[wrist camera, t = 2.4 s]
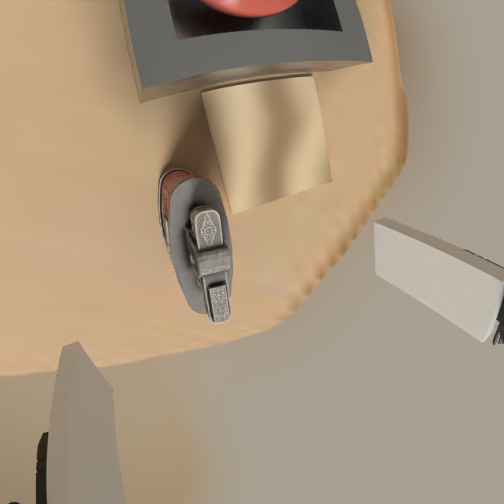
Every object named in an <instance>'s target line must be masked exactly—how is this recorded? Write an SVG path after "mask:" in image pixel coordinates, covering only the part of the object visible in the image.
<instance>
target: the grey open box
mask: <svg viewBox="0 0 504 504" xmlns="http://www.w3.org/2000/svg"><path fill="white" fill-rule="evenodd" d="M119 4H120V10H121V16H122V21H123V27H124V32H125V37H126V42H127V47H128V52H129V57H130V62H131V66H132V71H133V75H134V79H135V84H136V88H137V92H138V96H139V100H140V103H143V102H147V101H150V100H153V99H157V98H160V97H163V96H167V95H171V94H174V93H178V92H182V91H186V90H190V89H195V88H199V87H203V86H208V85H213V84H218V83H223V82H228V81H234V80H240V79H246V78H253V77H260V76H268V75H277V74H286V73H298V72H313V71H332V70H336V69H341V68H345V67H350V66H355V65H360V64H365V63H371V62H373V61H372V56H371V52H370V48H369V44H368V40H367V37H366V33H365V29H364V26H363V22H362V19H361V16H360V12H359V9H358V6H357V3H356V0H298V1H297V2H296V3H295V4H293V5H292V6H290V7H289V8H287V9H286V10H284V11H283V12H281V13H279V14H276V15H273V16H270V17H265V18H242V17H236V16H231V15H228V14H224V13H222V12H219V11H216V10H214V9H212V8H210V7H208V6H206V5H205V4H203V3H202V2H200V1H199V0H119Z"/></svg>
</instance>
